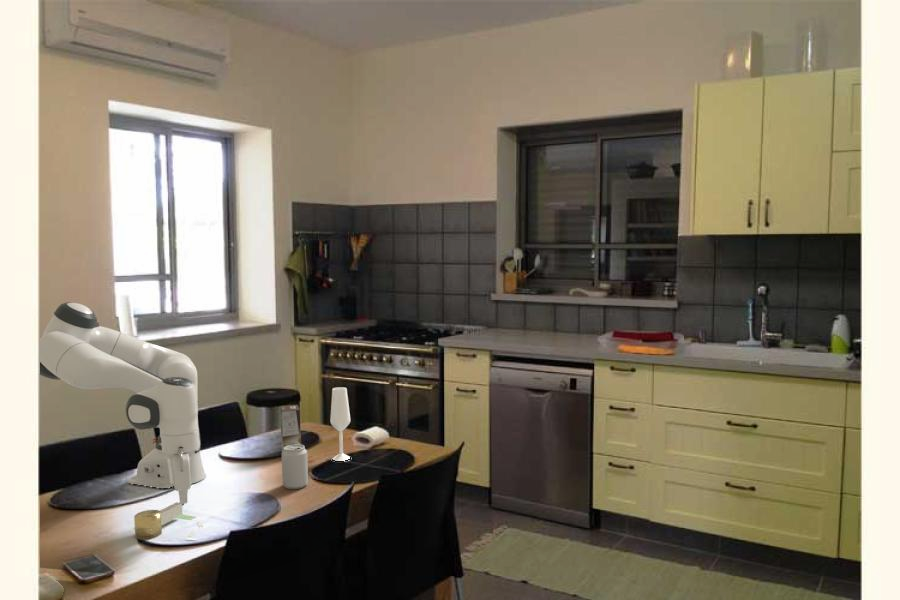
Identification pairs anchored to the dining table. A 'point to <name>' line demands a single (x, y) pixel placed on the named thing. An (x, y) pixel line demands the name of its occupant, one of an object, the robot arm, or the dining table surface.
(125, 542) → the dining table surface
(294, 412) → the coffee box
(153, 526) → the yellow cylinder with handle
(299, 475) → the can
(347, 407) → the champagne flute
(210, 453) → the dining table surface
